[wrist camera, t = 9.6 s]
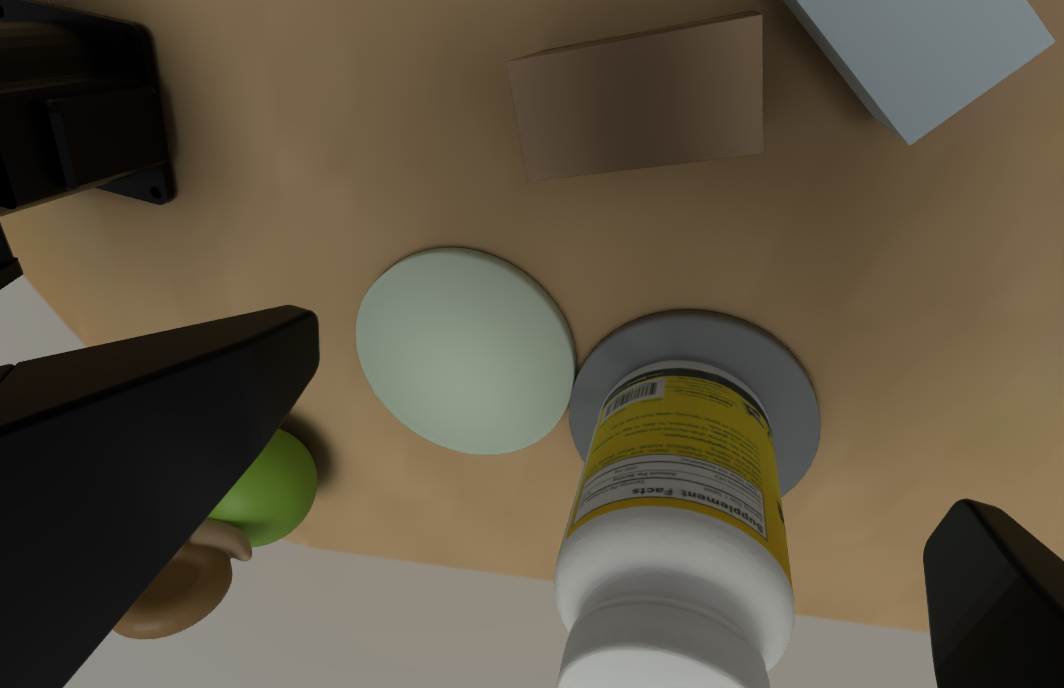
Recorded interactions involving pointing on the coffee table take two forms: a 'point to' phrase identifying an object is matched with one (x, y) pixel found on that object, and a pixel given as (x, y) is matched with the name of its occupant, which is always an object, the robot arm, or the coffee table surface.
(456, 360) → the felt coaster
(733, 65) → the walnut block
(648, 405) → the pill bottle
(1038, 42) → the blue-grey block
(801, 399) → the slate coaster
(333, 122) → the coffee table surface
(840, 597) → the coffee table surface
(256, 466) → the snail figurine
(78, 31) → the robot arm
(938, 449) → the coffee table surface
